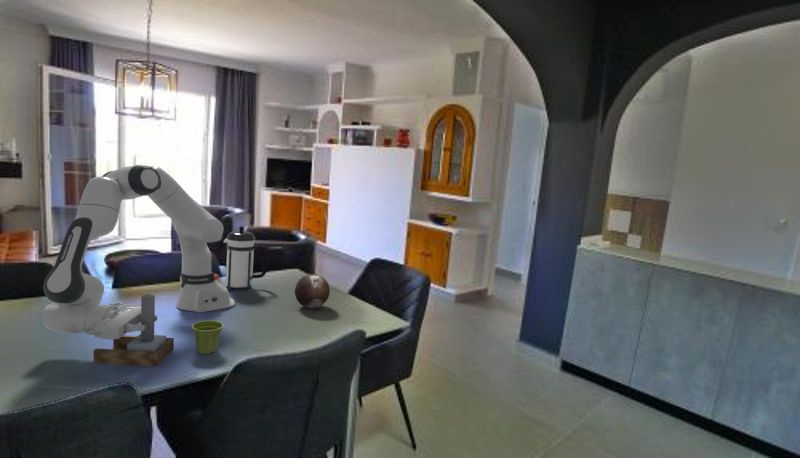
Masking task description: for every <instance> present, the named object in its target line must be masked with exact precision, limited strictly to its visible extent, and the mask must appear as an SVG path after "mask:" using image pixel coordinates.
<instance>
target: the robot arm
mask: <svg viewBox="0 0 800 458" xmlns="http://www.w3.org/2000/svg"><path fill="white" fill-rule="evenodd" d="M146 196H147V197H148V198H149V199H150V200H151V201H152V202H153V203H154V204H155V206H157V207H158V208H159V209H160V211H162V212H163V213H164V214H165V215H166V216H167V217H168V218H169V219H171V220H172V226H173V229H174V231H175V232H176V234H177V236H178V242H179V247H180V250H181V251H180V252H181V272H180V276H179V285H180V288H179V289H180V291H179V297H178V300H177V303H176V308H177V309H180V310H181V311H187V312H196V313H203V312H211V311H217V310H222V309H227V308H234V307H235V305H236V304H235V303H236V302H235V299H234V298H232V297H230V292H229V291H228V290H227V288H226V287H227V286H226V287H225V286H224V285H223V284H222V283H220V282H218V280H219V279H220V276H219V274H218V273H215V272H213V271H212V252H211V250H210V249H209V247H208V244H207V243H215V242H217V241H219V240H221V238H222V236H223V234H224V229H225V228H224V225H223V223H222V221H221V220H219V219H218V218H217V217H215V216H214V215H213V214H211V213H210V212H209V211H208V210H206V208H204V207H203V206H202V205H201V204H200V203H198V202H197V201H196V200H194V199H193V197H192V196H190V195H189V194H188V192H186V190H185V189H184V188H183V187H182V186H181V185H180V184H179V183H178V181H177V180H175V178H173V176H171V175H170V174H169V173H168V172H166V171H165V170H164V169H163V168H161V167H159V166H158V165H157V166H156V165H150V166H149V165H145V164H136V165H130V166H129V165H128V166H124V167H121V168H118V169H115V170H110V171H108V172H106V173H104V174H102V175H101V176H96V177H92V178H91V179H90V180H88V182H87V184H86V185H85V187H84V190H83V192H82V195H81V198H80V201H79V205H78V209H77V212H76V216H75V218H74V220H73V221H72V222H71V223H70V225H69V226H68V228H67V231H66V233H65V236H64V237H63V241H62V244H61V247H60V250H59V252H58V255H57V258H56V261H55V263H54V265H53V267H52V269H51V270H50V271H49V273H47V276H46V277H45V279H44V281H43V282H44V283H43V285H42V286H43V288H42V289H43V293H44V295H45V297H46V298H47V299H48V300H49V301H51V302H50V304H48V305H46V306H45V307H44V309H43V312H42V315H41V317H42V319H41V320H42V322H43V325H44V327H45V328H46V329H48V331H49V330H50V331H52V332H57V333H62V334H79V333H83V334H86V335H91V336H93V335H94V338H96V339H104V340H111V341H113V340H115V339H119V338H121V337H122V336H123V335H127V333H134V332H141V331H144V330H145V329H146V324H141V304H134V303H124V302H122V301H117V302H113V303H107V304H102V305H101V304H100V303H101V301H102V297H103V295H104V291H105V287H104V284H103V282H102V280H101V279H100V278H99V277H97V276H94V275H92V274H89V273H85V272H83V270H82V266H83V262H84V260H85V256H86V253H87V250H88V247H89V244H90V243H91V241H92V240H94V239H96V238H100V237H105V236H107V235H109V234H110V233H112V232H113V231H114V230H115V227H116V225H117V223H118V219H119V215H120V210H121V209H120V208H121V202H122V201H124V200H125V201H126V200H135V199H138V198H140V197H146ZM156 321H158V315H156V314H155V319H154V323H155V322H156Z"/></svg>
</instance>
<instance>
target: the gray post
mask: <svg viewBox="0 0 800 458" xmlns="http://www.w3.org/2000/svg"><path fill="white" fill-rule="evenodd" d="M140 299H141V301H140V303H141V304H140V305H141V323H140V324H146V329H145V330H144V331H140V333H139V335H136V336H137V337H136V338H135V339H133V340H132V341H131V342H130V343H128V344H127V350H132V351H150V352H155V351H156V350H157V349H158V348H160V347H161V346H162V345H163V344H164V343H165V342H166V338H167V335H160V334H159V335H158V334H155V322H154V319H155V315H156V314H155V313H156V312H155V309H156V308H155V305H156V303H155V302H156V301H155V299H156V295H154V294H144V295H141V297H140Z"/></svg>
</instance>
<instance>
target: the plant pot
mask: <svg viewBox="0 0 800 458" xmlns="http://www.w3.org/2000/svg"><path fill="white" fill-rule="evenodd" d="M223 327H224V323H222V322H221V321H217V320H201V321H196V322H194V323H193V324H192V325H191V329H192V330H193V333H194V338H195V339H194V340H195V350H196V352H197V353H198V354H202V355H208V354H211V353H212V354H213V353H215V352H216V351H217V349H218V346H219V341H220V340H219V339H220V337H221V336H220V335H221V332H222V329H223Z"/></svg>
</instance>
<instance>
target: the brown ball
mask: <svg viewBox="0 0 800 458" xmlns="http://www.w3.org/2000/svg"><path fill="white" fill-rule="evenodd" d="M330 288H331V287H330V285H329V283H328V281H327V280H326V278H324V277H323V276H322V275H319V274H317V273H309V274H306V275H303V276H302V277H301V278H300V279H299V280H298V281H297V283H296V284H295V288H294V294H295V295H294V296H295V299H296V300H297V302H298V304H300V305H301V306H302V307H304V308H307V309H317V308H320V307H321V306H323V305H325V303H326V302H327V301H328V299H329V297H330V294H331V293H330Z"/></svg>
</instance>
